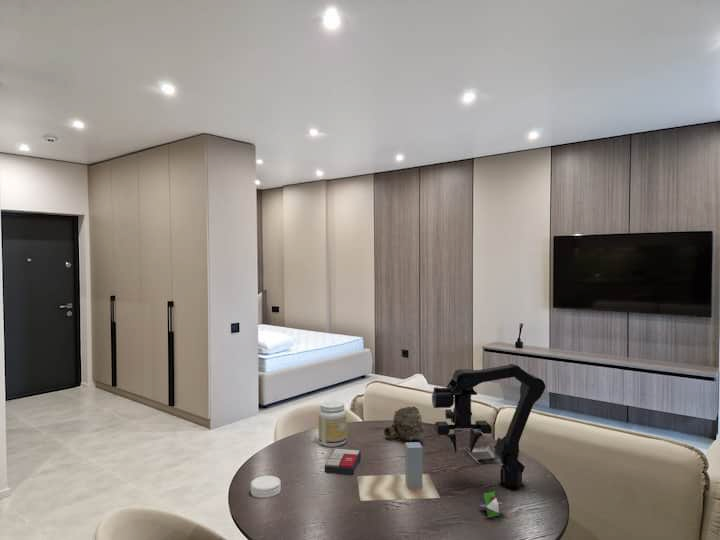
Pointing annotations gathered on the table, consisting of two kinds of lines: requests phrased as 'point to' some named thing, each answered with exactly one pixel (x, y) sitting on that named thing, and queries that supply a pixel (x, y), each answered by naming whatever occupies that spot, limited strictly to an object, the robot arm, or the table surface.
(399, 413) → the rock
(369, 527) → the table surface
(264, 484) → the white puck
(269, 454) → the table surface
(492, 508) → the geometric puzzle
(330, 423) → the supplement tub
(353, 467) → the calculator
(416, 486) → the pillar
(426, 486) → the board
